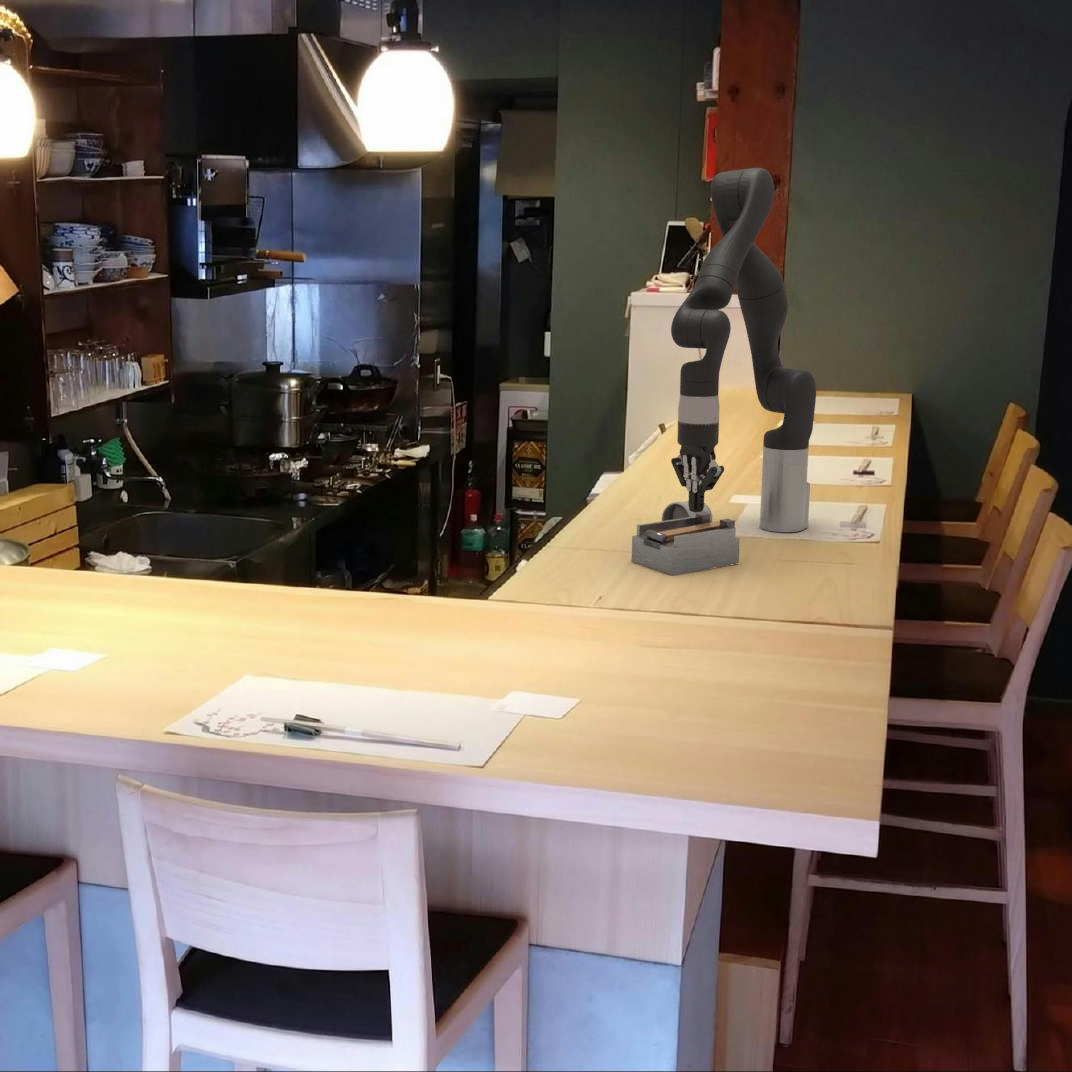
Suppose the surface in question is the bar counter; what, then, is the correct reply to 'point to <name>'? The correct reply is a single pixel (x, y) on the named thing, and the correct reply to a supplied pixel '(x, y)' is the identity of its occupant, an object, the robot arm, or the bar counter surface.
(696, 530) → the strap
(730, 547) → the block
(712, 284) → the robot arm
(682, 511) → the ceramic mug
